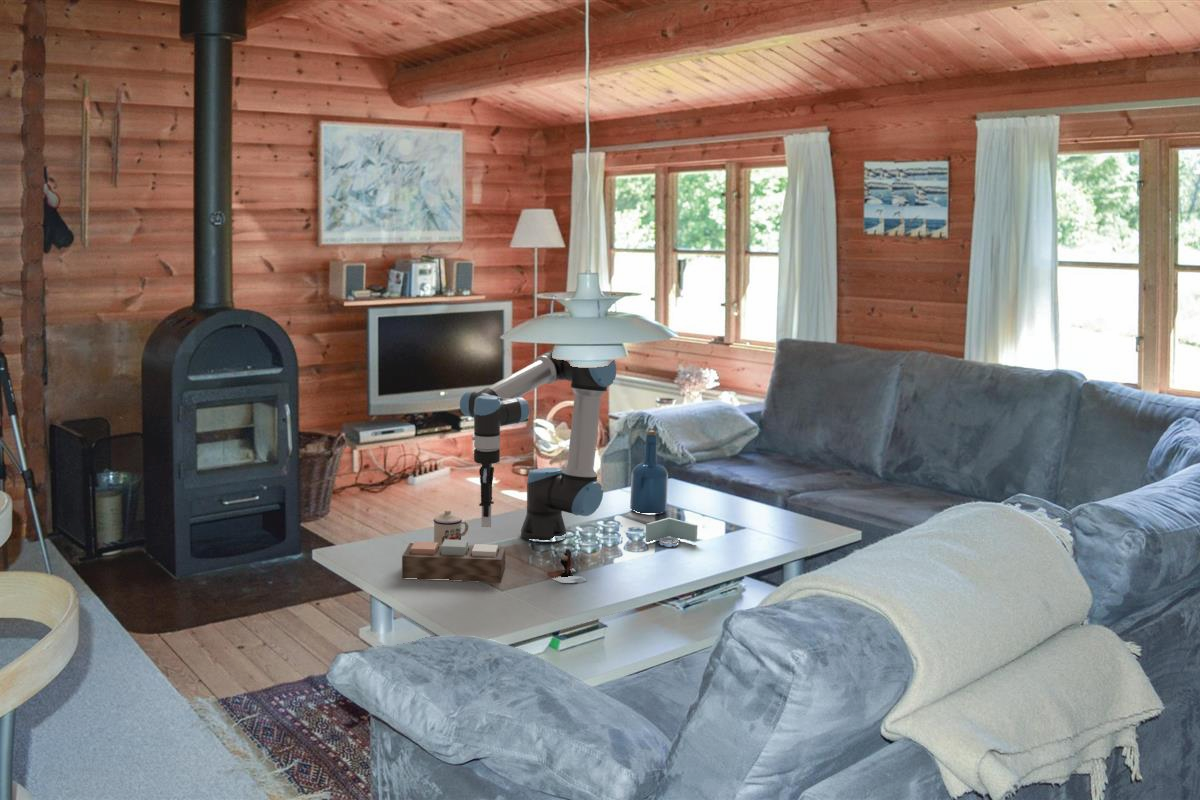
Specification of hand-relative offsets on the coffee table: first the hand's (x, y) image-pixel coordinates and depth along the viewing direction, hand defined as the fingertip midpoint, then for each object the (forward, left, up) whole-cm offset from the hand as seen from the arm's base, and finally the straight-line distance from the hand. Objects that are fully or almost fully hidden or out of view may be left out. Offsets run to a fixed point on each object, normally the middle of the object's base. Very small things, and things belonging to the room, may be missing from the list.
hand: (486, 526), depth 344 cm
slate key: (+9, 0, -11) cm, 14 cm away
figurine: (-25, -2, -15) cm, 29 cm away
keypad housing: (+9, 0, -15) cm, 18 cm away
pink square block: (+18, 0, -12) cm, 22 cm away
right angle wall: (-57, -38, -16) cm, 70 cm away
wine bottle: (-51, -79, -15) cm, 95 cm away
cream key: (0, 0, -12) cm, 12 cm away
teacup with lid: (+14, -29, -15) cm, 35 cm away
